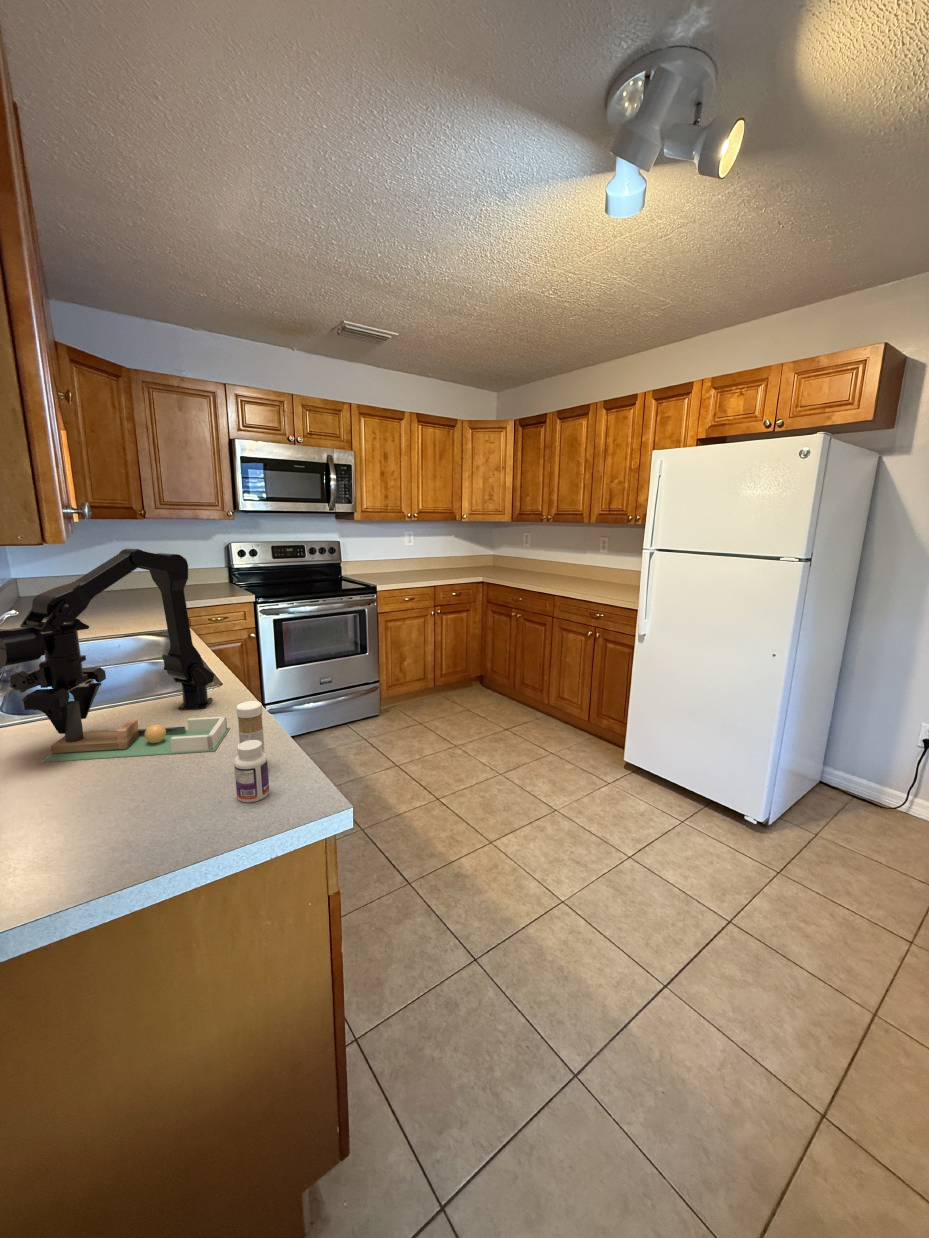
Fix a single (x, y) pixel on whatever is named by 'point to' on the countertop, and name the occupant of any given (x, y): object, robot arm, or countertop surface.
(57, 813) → the countertop surface
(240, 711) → the sprinkles bottle
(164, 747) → the mat
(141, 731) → the guide rail
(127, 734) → the striker sled
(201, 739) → the box
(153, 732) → the foosball
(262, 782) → the pill bottle
